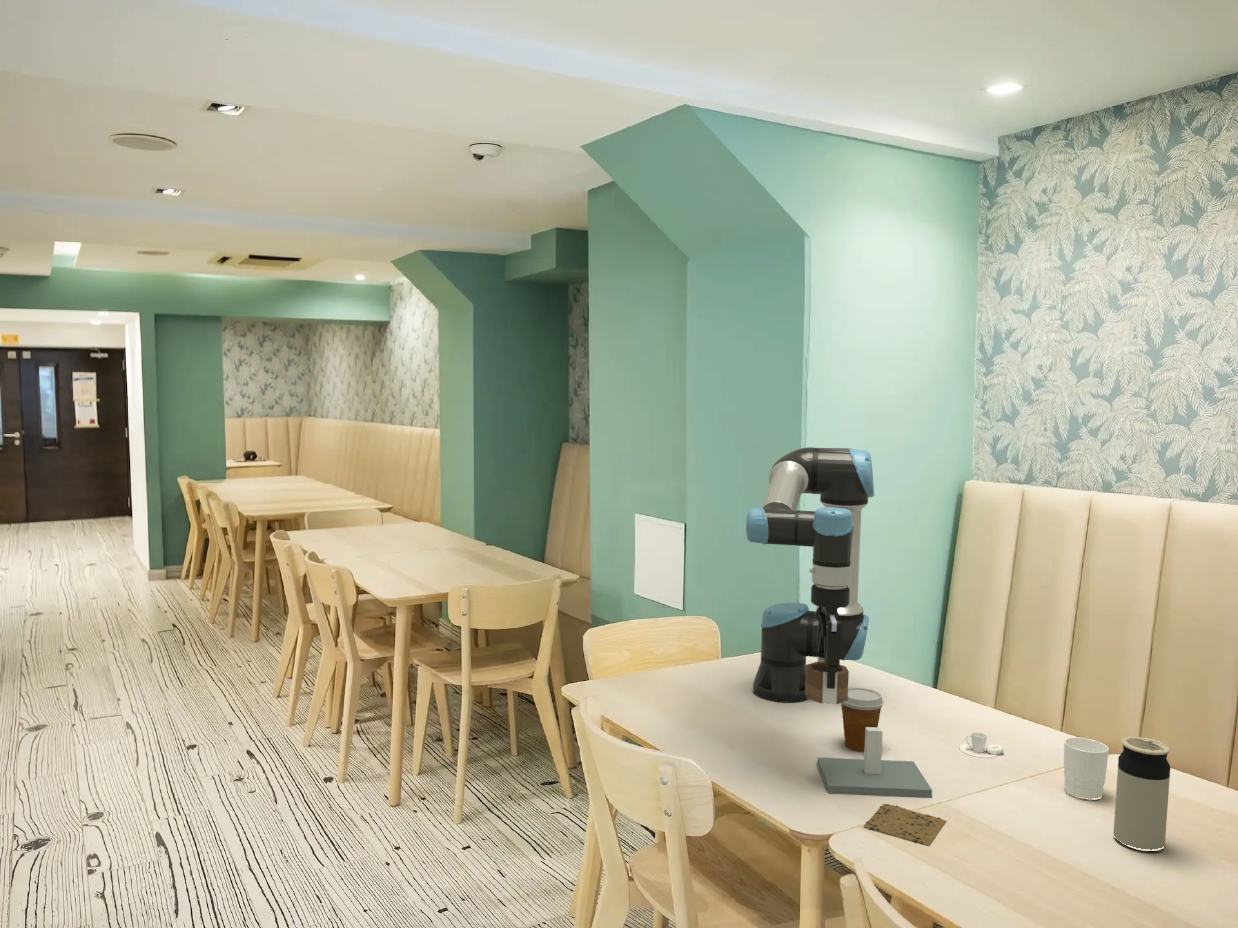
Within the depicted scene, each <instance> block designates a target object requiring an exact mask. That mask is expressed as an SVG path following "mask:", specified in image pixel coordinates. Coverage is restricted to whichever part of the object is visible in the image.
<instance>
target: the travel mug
mask: <svg viewBox="0 0 1238 928" xmlns="http://www.w3.org/2000/svg"><path fill="white" fill-rule="evenodd" d="M1120 742H1121V745H1122V748H1123V749H1122V751H1121V753H1120V754H1119V756H1118V758H1117V761H1118V762H1117V776H1116V789H1115V790H1116V791H1115V807H1114V809H1115V810H1114V822H1113V823H1114V824H1113V834H1114V836H1115V837H1116V839H1118V840H1119V841H1121V842H1122V843H1124V844H1126V845H1130V846H1133V847H1136V848H1141V849H1150V850H1152V849H1158V848H1162V847H1163V846H1164V845H1165V846H1166V834H1167V833H1166V832H1167V820H1168V806H1169V805H1168V804H1169V794H1170V793H1169V792H1170V791H1169V790H1170V780H1171V779H1170V778H1171V765H1170V764H1169V761H1168V759H1167V757H1168V754H1169V753H1170V751H1171V748H1170V746H1168V745H1167V744H1165V743H1164V742H1161V741H1159V740H1157V739H1153V738H1149V737H1142V736H1126V737H1123V738H1122V739H1121V740H1120ZM1114 836H1113V837H1114ZM1116 839H1115V840H1116Z"/></svg>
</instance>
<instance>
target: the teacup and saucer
mask: <svg viewBox="0 0 1238 928" xmlns="http://www.w3.org/2000/svg"><path fill="white" fill-rule="evenodd" d="M968 737H970V738H971V743H969V741H968ZM987 738H988V737H987V734H985V733H983V732H978V731H973V732H972V733H971V734H967V735H965V741H966V743H963V744H960V745H959V751H960V752H962V753H964V754H965V755H969V756H972V757H976V758H981V759H982V758H983V759H984V758H985V759H987V758H995V757H997V756H998V755H1000V754H1002V753H1003V752H1004V750H1005V748H1004V746H1002V745H1000V744H989V745H987ZM967 747H970V748H971V749H972V751H973V752H975V753H978V754H979V753H980V754H981V753H984V752H985V751H986V752H987V753H988V754H989V755H988V754H987V755H978V754H974V753H971V752H969V751H967V750H966V749H967Z"/></svg>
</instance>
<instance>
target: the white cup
mask: <svg viewBox="0 0 1238 928" xmlns="http://www.w3.org/2000/svg"><path fill="white" fill-rule="evenodd" d="M1063 746H1064V747H1063V749H1064V750H1063V757H1064V758H1063V775H1064V791H1065V793H1066V792H1067V793H1066V794H1067V795H1069V794H1070V795H1069V796H1071V795H1072V796H1071V797H1073V796H1077V797H1083V798H1088V799H1089V798H1090V799H1092V798H1098V797H1101V796H1102V795H1103V796H1104V787H1105V786H1104V785H1105V783H1106V775H1107V767H1108V758H1109V750H1110V749H1109V746H1108V745H1106V744H1104V743H1103V742H1101V741H1098V740H1094V739H1091V738H1085V737H1078V736H1077V737H1068V738H1065V740H1064V741H1063ZM1103 796H1102V797H1103Z"/></svg>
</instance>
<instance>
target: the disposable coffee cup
mask: <svg viewBox="0 0 1238 928" xmlns="http://www.w3.org/2000/svg"><path fill="white" fill-rule="evenodd" d="M884 703H885V701H884V699H883V696H882V693H880V692H878V691H876V690H873V689H870V688H864V687H848V701H845V702H842V703H840V704H841V712H842V724H843V725H842V727H843V735H844V736H843V737H844V746H845V747H846V748H847V749H849V750H852V751H855V752H861V753H864V750H865V727H876V728H879V721H880V716H881V712H882V711H881V710H882V707H883V705H884Z"/></svg>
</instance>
